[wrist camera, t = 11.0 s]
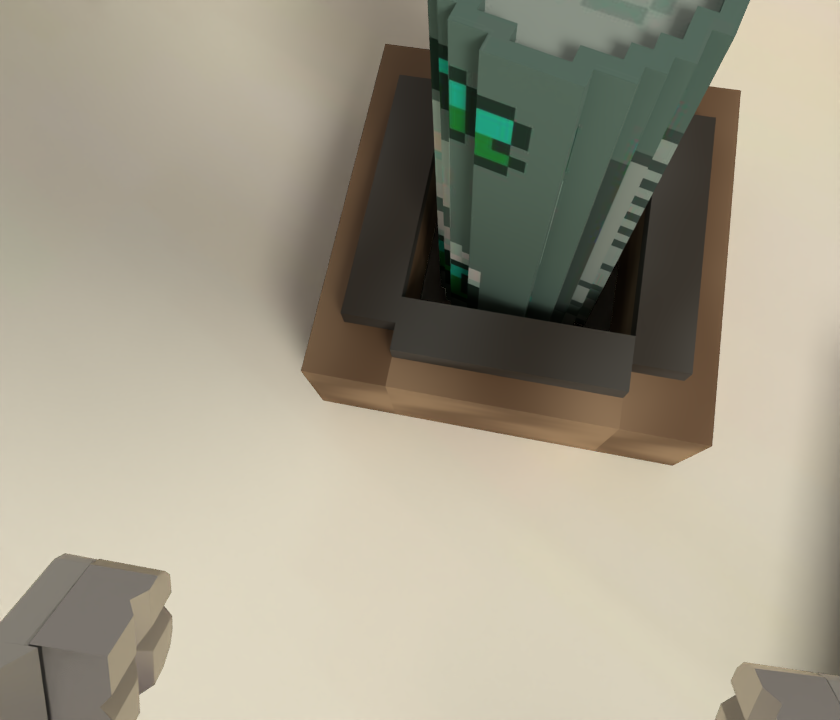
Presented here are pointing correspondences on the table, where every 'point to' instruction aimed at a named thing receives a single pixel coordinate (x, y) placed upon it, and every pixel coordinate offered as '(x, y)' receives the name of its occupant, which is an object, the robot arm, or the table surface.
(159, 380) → the table surface
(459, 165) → the can
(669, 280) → the collar
